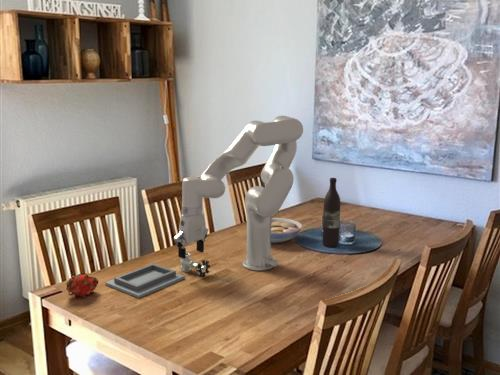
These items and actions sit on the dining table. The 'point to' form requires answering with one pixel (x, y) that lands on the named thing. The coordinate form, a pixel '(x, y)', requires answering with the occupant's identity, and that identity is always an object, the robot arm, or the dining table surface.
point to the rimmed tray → (145, 280)
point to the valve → (194, 265)
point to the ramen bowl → (284, 229)
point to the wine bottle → (331, 216)
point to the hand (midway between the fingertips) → (191, 254)
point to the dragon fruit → (81, 285)
